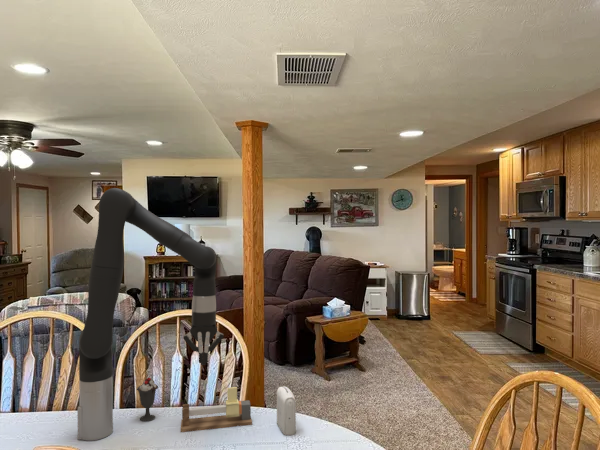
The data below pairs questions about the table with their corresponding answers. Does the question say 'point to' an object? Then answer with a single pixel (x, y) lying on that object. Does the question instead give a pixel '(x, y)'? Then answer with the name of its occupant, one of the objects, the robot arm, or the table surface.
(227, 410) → the marker sleeve
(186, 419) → the wooden bracket
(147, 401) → the sundae
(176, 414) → the table surface
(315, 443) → the table surface
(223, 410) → the sliding door bolt
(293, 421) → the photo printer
